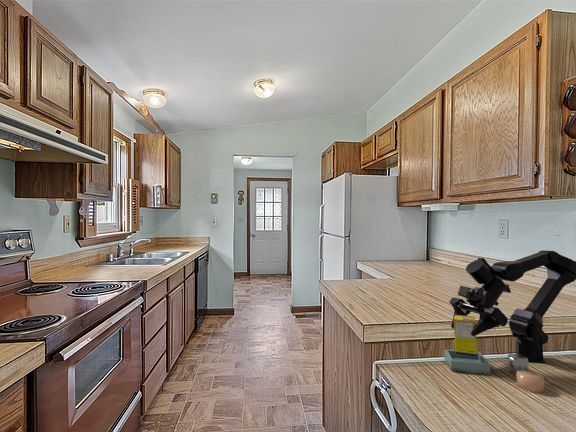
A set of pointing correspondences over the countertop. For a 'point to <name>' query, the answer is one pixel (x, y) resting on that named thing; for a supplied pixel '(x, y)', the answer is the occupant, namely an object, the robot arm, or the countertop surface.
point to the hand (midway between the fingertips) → (461, 331)
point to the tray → (466, 362)
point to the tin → (517, 363)
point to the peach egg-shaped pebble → (530, 381)
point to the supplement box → (465, 335)
